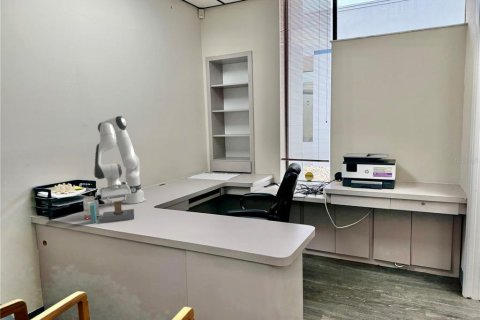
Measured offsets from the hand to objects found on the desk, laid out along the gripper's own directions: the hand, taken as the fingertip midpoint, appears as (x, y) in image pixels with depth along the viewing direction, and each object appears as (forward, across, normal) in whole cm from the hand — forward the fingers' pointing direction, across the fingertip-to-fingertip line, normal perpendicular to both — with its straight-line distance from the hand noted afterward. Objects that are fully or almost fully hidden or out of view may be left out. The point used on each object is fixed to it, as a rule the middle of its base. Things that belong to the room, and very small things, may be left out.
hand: (117, 202), depth 230 cm
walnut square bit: (+12, -1, +2) cm, 12 cm away
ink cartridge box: (+3, -17, +11) cm, 20 cm away
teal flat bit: (+10, -16, +3) cm, 20 cm away
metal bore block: (+12, -1, +2) cm, 12 cm away
